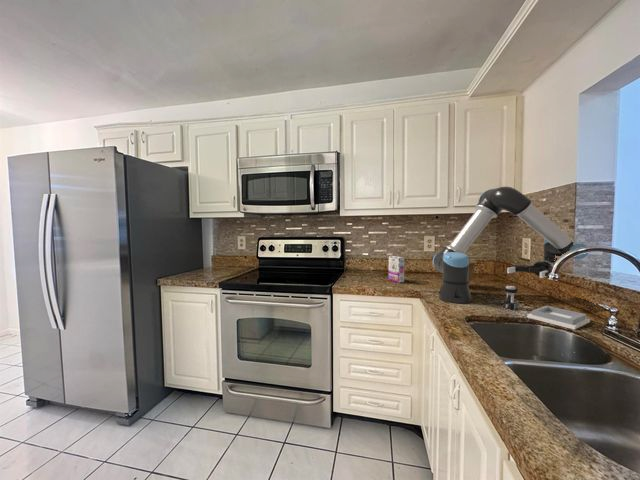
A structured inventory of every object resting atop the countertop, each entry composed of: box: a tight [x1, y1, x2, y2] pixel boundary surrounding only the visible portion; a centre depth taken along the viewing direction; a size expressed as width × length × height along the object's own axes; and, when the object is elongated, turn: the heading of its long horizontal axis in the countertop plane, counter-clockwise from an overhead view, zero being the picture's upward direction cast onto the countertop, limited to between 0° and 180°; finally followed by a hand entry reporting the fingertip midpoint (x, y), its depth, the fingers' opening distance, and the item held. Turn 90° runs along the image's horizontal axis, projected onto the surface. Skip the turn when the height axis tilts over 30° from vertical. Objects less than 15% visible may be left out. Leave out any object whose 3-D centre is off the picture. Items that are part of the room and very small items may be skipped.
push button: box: [503, 285, 519, 310], centre depth 126 cm, size 7×5×10 cm
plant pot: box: [468, 259, 476, 285], centre depth 166 cm, size 15×15×16 cm
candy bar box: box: [387, 255, 406, 284], centre depth 182 cm, size 11×5×16 cm, turn 23°
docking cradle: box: [526, 305, 591, 330], centre depth 110 cm, size 15×15×3 cm
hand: (523, 272), depth 130 cm, fingers open, 13 cm apart
